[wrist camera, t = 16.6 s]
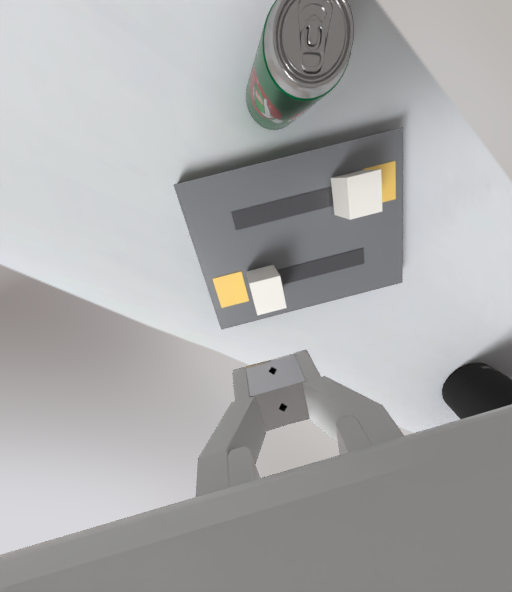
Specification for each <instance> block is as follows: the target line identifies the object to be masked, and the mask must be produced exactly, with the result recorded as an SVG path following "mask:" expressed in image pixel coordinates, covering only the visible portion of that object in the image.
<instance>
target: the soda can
mask: <svg viewBox="0 0 512 592" xmlns="http://www.w3.org/2000/svg"><path fill="white" fill-rule="evenodd" d="M353 37H354V25H353V17H352V12H351V9H350V6H349V4H348V2H347V0H276V1H275V3H274V4H273V6H272V7H271V9H270V11H269V13H268V15H267V19H266V22H265V25H264V28H263V32H262V35H261V39H260V42H259V46H258V50H257V53H256V57H255V60H254V64H253V67H252V71H251V74H250V78H249V81H248V85H247V90H246V101H247V106H248V109H249V112H250V114H251V116H252V117H253V119H254V120H255V121H256V122H257V123H258V124H259V125H260V126H262V127H264V128H266V129H270V130H278V129H282V128H284V127H286V126H287V125H289V124H290V123H291V122H293V121H294V120H295V119H296V118H298V117H299V116H300V115H301V114H303V113H304V112H305V111H306V110H308V109H309V108H310V107H311V106H312V105H314V104H315V103H316V102H317V101H319V100H320V99H321V98H322V97H324V96H325V95H326V94H327V93H329V92H330V91H331V90H332V89H333V88H334V87H335V86H336V85H337V83H338V82H339V81H340V79H341V78H342V76H343V74H344V72H345V70H346V68H347V65H348V62H349V58H350V54H351V48H352V44H353Z"/></svg>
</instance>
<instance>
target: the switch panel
mask: <svg viewBox="0 0 512 592" xmlns="http://www.w3.org/2000/svg"><path fill="white" fill-rule="evenodd" d="M376 169H381V178H382V212H378V213H375V214H371V215H367V216H363V217H359V218H355V219H351V220H349V219H346V218H343V217H340V216H336V215H334V205H333V195H332V185H331V178H333V177H337V176H341V175H345V174H349V173H353V172H357V171H361V170H376ZM174 188H175V191H176V194H177V197H178V200H179V203H180V206H181V209H182V212H183V215H184V218H185V221H186V224H187V227H188V230H189V233H190V236H191V239H192V242H193V245H194V248H195V251H196V254H197V257H198V260H199V263H200V266H201V269H202V273H203V276H204V279H205V282H206V285H207V288H208V291H209V294H210V297H211V300H212V303H213V306H214V309H215V312H216V315H217V318H218V321H219V324H220V327H221V329H225V328H229V327H233V326H237V325H241V324H244V323H248V322H252V321H256V320H260V319H264V318H267V317H271V316H275V315H279V314H283V313H287V312H290V311H294V310H298V309H302V308H306V307H310V306H314V305H317V304H321V303H325V302H329V301H333V300H337V299H340V298H344V297H348V296H352V295H356V294H360V293H363V292H367V291H371V290H375V289H379V288H383V287H386V286H390V285H394V284H398V283H402V241H403V127H402V128H398V129H394V130H390V131H386V132H382V133H378V134H374V135H370V136H366V137H362V138H358V139H354V140H350V141H346V142H342V143H338V144H334V145H330V146H326V147H322V148H318V149H314V150H310V151H306V152H302V153H298V154H294V155H290V156H286V157H282V158H278V159H274V160H270V161H266V162H262V163H258V164H254V165H250V166H246V167H242V168H238V169H234V170H230V171H226V172H222V173H218V174H214V175H210V176H206V177H202V178H198V179H194V180H190V181H186V182H182V183H178V184H174ZM270 265H274V266H275V268H276V270H277V271H278V273H279V275H280V277H281V282H282V287H283V292H284V297H285V302H286V307H287V308H285V309H281V310H277V311H273V312H269V313H265V314H261V315H258V316H257V312H256V308H255V305H254V301H253V297H252V293H251V289H250V285H249V282H248V278H247V274H246V271H250V270H254V269H258V268H262V267H266V266H270Z"/></svg>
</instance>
